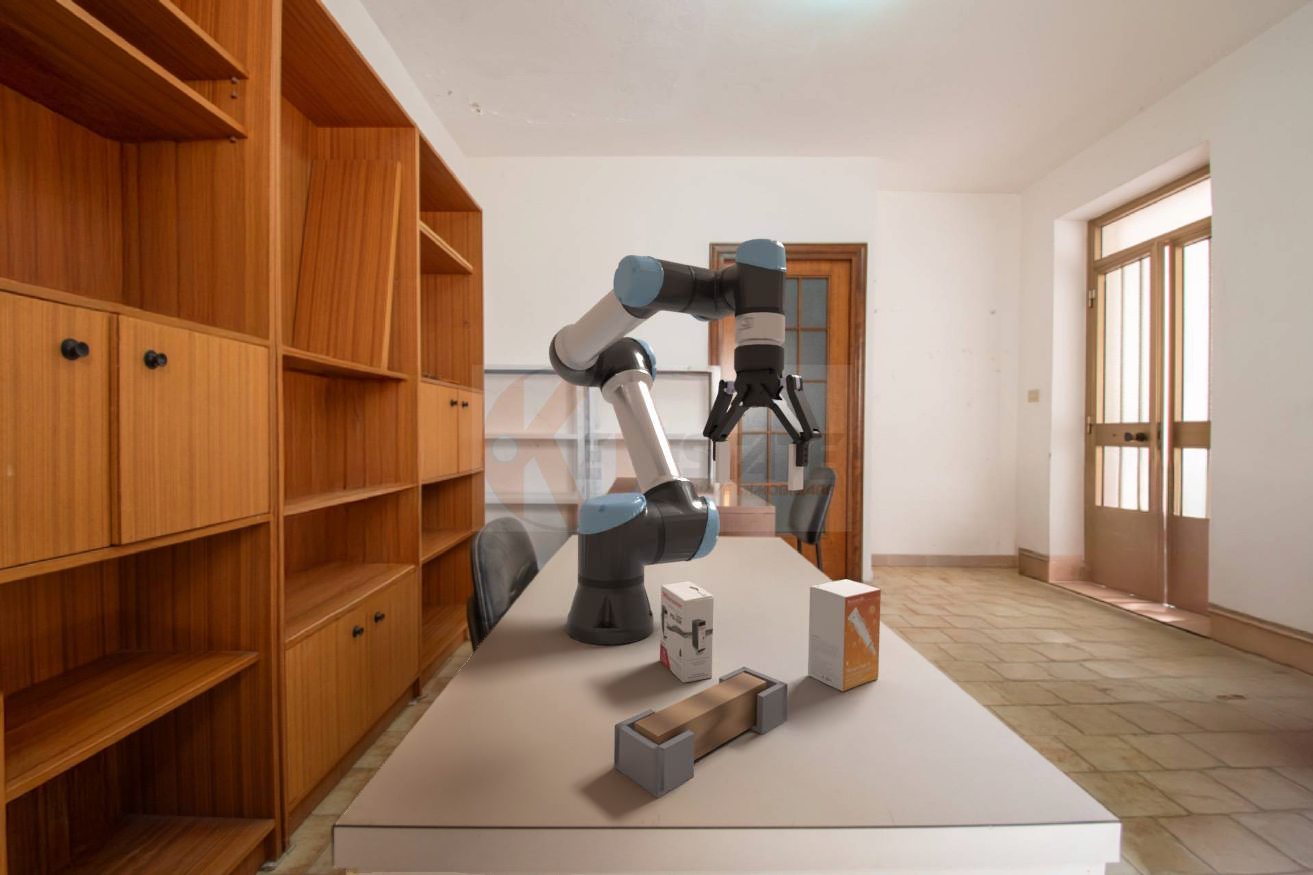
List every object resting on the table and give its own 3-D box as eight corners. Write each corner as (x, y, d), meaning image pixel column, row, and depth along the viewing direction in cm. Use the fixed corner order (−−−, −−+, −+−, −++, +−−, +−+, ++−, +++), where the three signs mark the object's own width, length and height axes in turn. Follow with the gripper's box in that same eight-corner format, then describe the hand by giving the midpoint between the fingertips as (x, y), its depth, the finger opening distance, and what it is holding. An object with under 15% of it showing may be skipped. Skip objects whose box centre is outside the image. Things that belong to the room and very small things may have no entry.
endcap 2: (718, 712, 69) (719, 677, 69) (743, 700, 73) (744, 666, 73) (762, 734, 64) (762, 696, 64) (786, 719, 68) (787, 683, 68)
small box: (843, 693, 75) (845, 596, 75) (806, 675, 80) (808, 585, 80) (880, 679, 80) (882, 588, 79) (843, 663, 85) (844, 577, 85)
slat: (657, 781, 55) (658, 736, 55) (634, 765, 57) (634, 722, 57) (765, 718, 67) (766, 681, 67) (742, 707, 70) (743, 672, 70)
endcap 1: (614, 766, 58) (614, 724, 58) (649, 748, 61) (650, 708, 61) (657, 797, 53) (658, 752, 53) (693, 776, 56) (694, 733, 56)
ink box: (657, 660, 85) (659, 583, 85) (686, 655, 87) (687, 580, 87) (682, 684, 77) (684, 599, 77) (713, 678, 79) (715, 595, 79)
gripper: (682, 351, 91) (680, 480, 91) (820, 333, 73) (817, 495, 73) (713, 355, 96) (711, 478, 97) (848, 340, 78) (845, 491, 78)
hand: (756, 486), depth 85 cm, fingers open, 13 cm apart
